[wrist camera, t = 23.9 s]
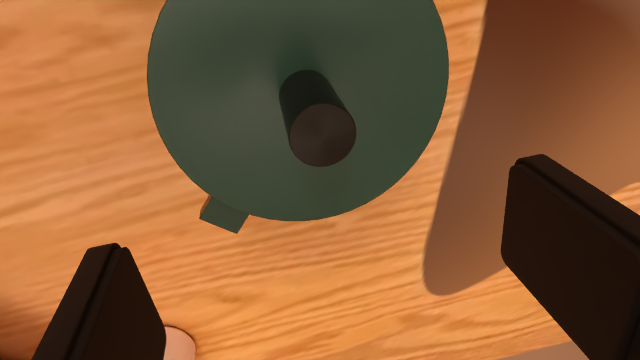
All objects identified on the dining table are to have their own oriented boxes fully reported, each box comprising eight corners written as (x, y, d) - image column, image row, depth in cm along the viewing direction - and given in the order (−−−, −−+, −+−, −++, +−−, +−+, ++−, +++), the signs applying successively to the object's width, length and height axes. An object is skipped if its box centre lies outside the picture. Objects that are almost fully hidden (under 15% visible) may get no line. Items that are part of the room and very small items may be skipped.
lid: (105, 142, 21) (56, 208, 15) (241, -163, 16) (239, -221, 11) (340, 243, 26) (365, 319, 21) (494, 38, 21) (578, 67, 16)
